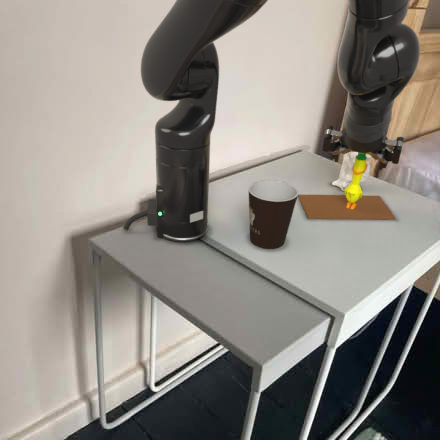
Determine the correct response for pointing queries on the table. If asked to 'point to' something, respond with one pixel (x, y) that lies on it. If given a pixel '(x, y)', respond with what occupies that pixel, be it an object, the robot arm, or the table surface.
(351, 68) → the robot arm
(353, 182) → the toy figure
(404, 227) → the table surface
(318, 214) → the placemat
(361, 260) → the table surface
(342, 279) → the table surface
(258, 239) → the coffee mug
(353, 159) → the white animal statuette
